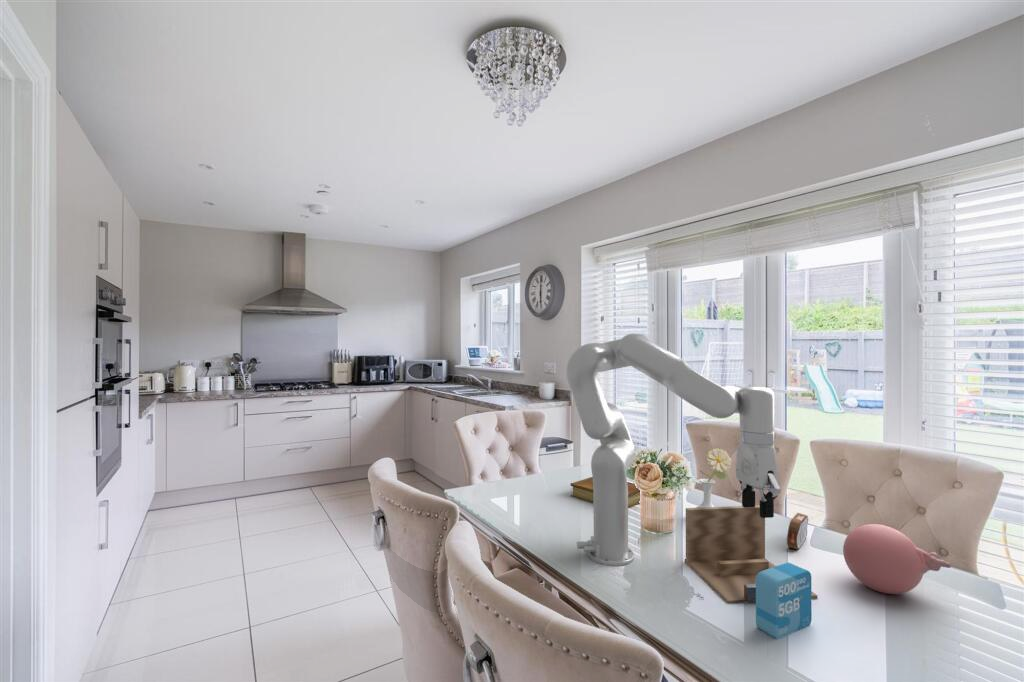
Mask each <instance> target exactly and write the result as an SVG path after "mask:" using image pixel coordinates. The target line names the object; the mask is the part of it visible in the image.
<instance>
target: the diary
mask: <svg viewBox="0 0 1024 682" xmlns="http://www.w3.org/2000/svg"><path fill="white" fill-rule="evenodd" d="M635 484H636V483H632V482H629V481H627V485H628V509H630V508H633V507H636V506H638V505H640V504H639V501H640V490H639V489H638V488H636V486H635ZM570 487H572V494H570V497H572V498H576V499H579V500H581V501H584V502H588V503H591V504H594V499H593V476H591V477H588V478H587V477H586V478H584V479H581V480H577V481H574V482H571V483H570Z"/></svg>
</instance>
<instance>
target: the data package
mask: <svg viewBox="0 0 1024 682" xmlns="http://www.w3.org/2000/svg"><path fill="white" fill-rule="evenodd" d="M811 591H812V573H811V572H810V571H809V570H807V569H805V568H802V567H800V566H798V565H796V564H793V563H791V562H785V563H782V564H779V565H775V567H772V568H769V569H766V570H763V571H761V572H759V573H758V574H757V577H756V602H755V625H756V627H757V628H758V629H759V628H760V629H759V630H761V629H762V630H763V632H764V631H765V632H764V633H766V634H768V635H769V634H770V636H771V637H772V638H774V637H775V638H774V639H776V640H779V638H780V639H782V638H784V637H786V636H789V635H791V634H793V633H796V632H798V631H800V630H802V629H803V630H804V629H805V628H807V627H810V625H811V623H812V616H813V615H812V611H813V610H812V609H813V608H812V605H813V604H812V600H813V599H812V595H811ZM762 630H761V631H762Z"/></svg>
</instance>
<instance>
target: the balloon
mask: <svg viewBox="0 0 1024 682" xmlns="http://www.w3.org/2000/svg"><path fill="white" fill-rule="evenodd" d="M842 547H843V548H842V552H843V553H842V554H843V558H844V561H845V564H846V566H847V568H848V569H849V571H850V573H851V574H852V575H853V576H854V577H855V578H856V579H857V580H858V581H859V582H860V583H862V584H864V585H865V586H866V587H867V588H869V589H872V590H874V591H877V592H880V593H883V594H889V595H900V594H904V593H905V594H906V593H908V592H910V591H911V590H914V589H915V588H916V587H918V585H919V584H920V583H921V582H922V581H921V580H922V579H923V576H924V575H925V574H926V573H927V572H929V571H933V572H938V571H940V570H941V568H948V569H951V567H952V564H951V563H950V562H947V561H945V560H943V559H942V558H941V557H940V555H939V554H938V553H937V552H935V551H933V552H927V551H925V550H924V549H921V548H918V547H917V546H916V544H915V543H914V542H913V541H912V539H910V538H909V537H908V536H907V535H905V534H904V533H903V532H901V531H900V530H897V529H895V528H893V527H891V526H887V525H884V524H879V523H878V524H877V523H870V524H863V525H860V526H858V527H855V528H853V529H852V530H851V531H850V532H849V533H848V534H847V536H846V537H845V539H844V542H843V546H842Z"/></svg>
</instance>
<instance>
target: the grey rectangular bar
mask: <svg viewBox="0 0 1024 682" xmlns="http://www.w3.org/2000/svg"><path fill="white" fill-rule="evenodd" d="M744 598H745V599H747V600H748V601H754V600H756V584H744Z"/></svg>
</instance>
